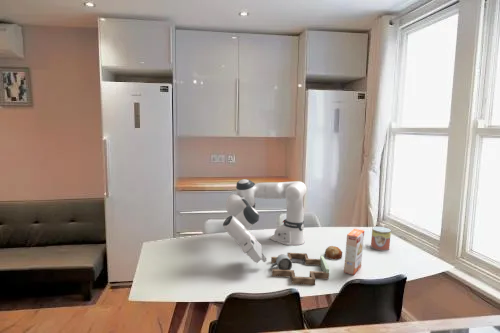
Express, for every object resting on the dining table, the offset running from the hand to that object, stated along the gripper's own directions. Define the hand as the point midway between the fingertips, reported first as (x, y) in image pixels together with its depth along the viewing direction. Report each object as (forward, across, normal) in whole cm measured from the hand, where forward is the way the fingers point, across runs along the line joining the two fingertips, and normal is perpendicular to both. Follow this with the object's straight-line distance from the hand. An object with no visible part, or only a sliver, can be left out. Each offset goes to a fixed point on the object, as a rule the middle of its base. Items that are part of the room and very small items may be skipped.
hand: (265, 260), depth 187 cm
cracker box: (+37, -4, +30) cm, 48 cm away
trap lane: (+16, 0, +10) cm, 19 cm away
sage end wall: (+25, 0, +19) cm, 31 cm away
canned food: (+56, -42, +49) cm, 85 cm away
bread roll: (+32, -22, +25) cm, 46 cm away
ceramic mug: (+9, 0, +2) cm, 10 cm away
